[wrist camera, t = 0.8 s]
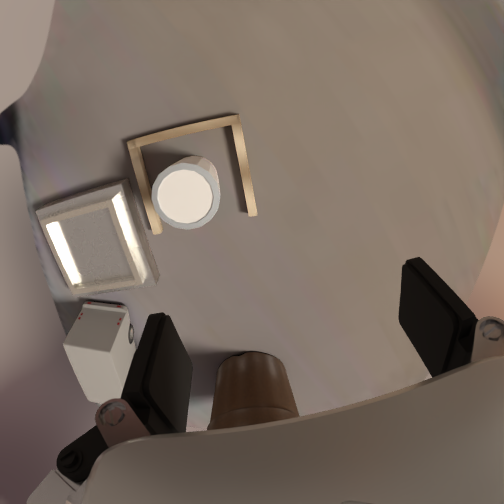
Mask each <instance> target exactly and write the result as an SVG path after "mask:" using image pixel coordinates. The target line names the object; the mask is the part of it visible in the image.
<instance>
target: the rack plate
mask: <svg viewBox="0 0 504 504" xmlns="http://www.w3.org/2000/svg"><path fill="white" fill-rule="evenodd" d="M35 212H36V214H37V217H38V220H39V222H40V225H41V227H42V230H43V232H44V235H45V237H46V239H47V242H48V244H49V247H50V249H51V251H52V253H53V256H54V258H55V260H56V262H57V264H58V267H59V269H60V271H61V273H62V275H63V277H64V279H65V281H66V283H67V285H68V287H69V289H70V291H71V293H72V295H73V297H80V296H87V295H94V294H101V293H108V292H115V291H121V290H128V289H135V288H142V287H148V286H155V285H157V282H158V280H159V277H160V273H159V270H158V268H157V265H156V262H155V259H154V256H153V254H152V251H151V248H150V245H149V242H148V239H147V236H146V233H145V230H144V227H143V224H142V221H141V218H140V215H139V212H138V209H137V205H136V202H135V199H134V196H133V192H132V189H131V186H130V182H129V179H128V178H127V179H124V180H120V181H116V182H113V183H110V184H106V185H103V186H99V187H96V188H93V189H90V190H86V191H83V192H80V193H77V194H74V195H71V196H68V197H65V198H62V199H59V200H56V201H53V202H50V203H47V204H45V205H43V206H42V207H40V208H39V209H38V210H36V211H35Z"/></svg>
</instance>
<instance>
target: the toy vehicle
mask: <svg viewBox="0 0 504 504" xmlns="http://www.w3.org/2000/svg"><path fill="white" fill-rule="evenodd" d="M82 306H83V308H82V310H81V312H80V313H79V315H78V317H77V319H76V320H75V322H74V324H73V326H72V328H71V329H70V331H69V333H68V335H67V337H66V339H65V341H64V342H63V346H64V348H65V351H66V353H67V356H68V358H69V361H70V363H71V365H72V367H73V370H74V372H75V374H76V376H77V378H78V380H79V383H80V384H81V387H82V389H83V391H84V393H85V395H86V397H87V399H88V401H92V402H96V403H101V404H103V403H104V402H106V401H108V400H110V399H114V398H121V394H122V391H123V388H124V384H125V381H126V378H127V375H128V371H129V368H130V365H131V362H132V359H133V356H134V353H135V351H136V347H135V343H134V340H133V336H134V329H133V326H132V325H130V318H129V313H128V308H127V307H125V306H123V305H114V304H106V303H97V302H89V301H86V302H85V303H84V304H83V305H82Z"/></svg>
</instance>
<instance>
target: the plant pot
mask: <svg viewBox="0 0 504 504" xmlns="http://www.w3.org/2000/svg"><path fill="white" fill-rule="evenodd" d="M296 417H299V413H298V410H297V407H296V403H295V400H294V397H293V393H292V390H291V387H290V383H289V380H288V376H287V373H286V369H285V367H284V365H283V363H282V362H281V361H280V360H279V359H277V358H276V357H274V356H271V355H269V354H265V353H259V352H248V353H245V354H243V355H241V356H232V357H230V358H228V359H227V360H225V361H224V362H223V363H222V364H221V365H220V367H219V369H218V371H217V378H216V385H215V393H214V400H213V406H212V413H211V420H210V423H209V425H208V427H207V430H216V429H225V428H234V427H242V426H249V425H256V424H262V423H268V422H274V421H280V420H285V419H291V418H296Z"/></svg>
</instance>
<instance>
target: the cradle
mask: <svg viewBox="0 0 504 504" xmlns="http://www.w3.org/2000/svg"><path fill="white" fill-rule="evenodd" d="M229 125H232V130H233V135H234V140H235V146H236V151H237V156H238V161H239V166H240V172H241V177H242V182H243V187H244V193H245V198H246V203H247V209H248V214H249V217H251V216H257V210H256V204H255V198H254V193H253V187H252V182H251V176H250V171H249V165H248V160H247V154H246V149H245V143H244V138H243V132H242V127H241V122H240V116H239V114H237V115H231V116H226V117H221V118H216V119H211V120H206V121H202V122H197V123H193V124H188V125H184V126H180V127H176V128H172V129H168V130H164V131H160V132H156V133H153V134H149V135H146V136H142V137H139V138H135V139H132V140H129V141H127V145H128V149H129V153H130V157H131V160H132V164H133V168H134V171H135V175H136V178H137V182H138V185H139V189H140V192H141V196H142V199H143V202H144V206H145V209H146V212H147V215H148V219H149V222H150V225H151V228H152V231H153V234H154V235H155V234H160V233H161V232H162V230H163V227H162V224H161V221H160V218H159V215H158V214H157V212H156V211H155V208H154V205H153V202H152V199H151V198H152V190H151V187H150V183H149V179H148V176H147V172H146V168H145V165H144V161H143V157H142V153H141V149H140V146H143V145H147V144H151V143H154V142H158V141H162V140H166V139H170V138H174V137H178V136H182V135H186V134H191V133H195V132H200V131H204V130H209V129H214V128H219V127H224V126H229Z"/></svg>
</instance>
